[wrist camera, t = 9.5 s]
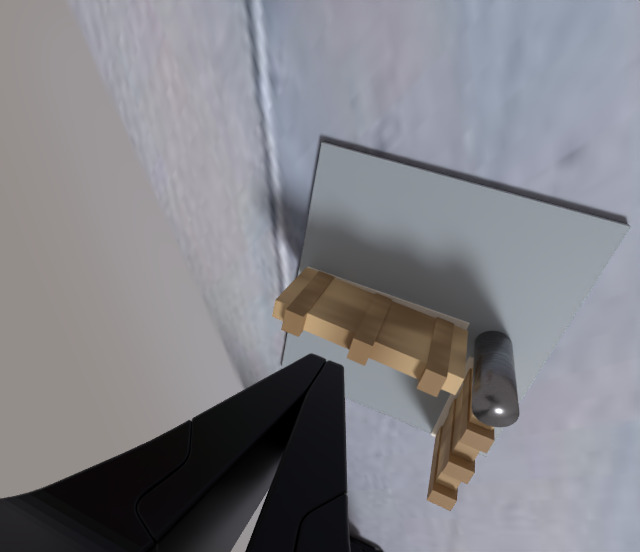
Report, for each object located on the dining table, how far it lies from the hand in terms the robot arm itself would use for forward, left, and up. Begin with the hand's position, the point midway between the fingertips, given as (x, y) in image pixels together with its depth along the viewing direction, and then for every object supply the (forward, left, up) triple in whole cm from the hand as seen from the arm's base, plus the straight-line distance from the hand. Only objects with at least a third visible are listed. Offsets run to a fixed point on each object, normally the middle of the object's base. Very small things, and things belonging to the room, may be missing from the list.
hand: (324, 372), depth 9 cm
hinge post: (-5, -6, -12) cm, 14 cm away
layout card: (-5, -2, -12) cm, 13 cm away
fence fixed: (-9, -6, -12) cm, 16 cm away
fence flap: (-5, 0, -11) cm, 12 cm away
